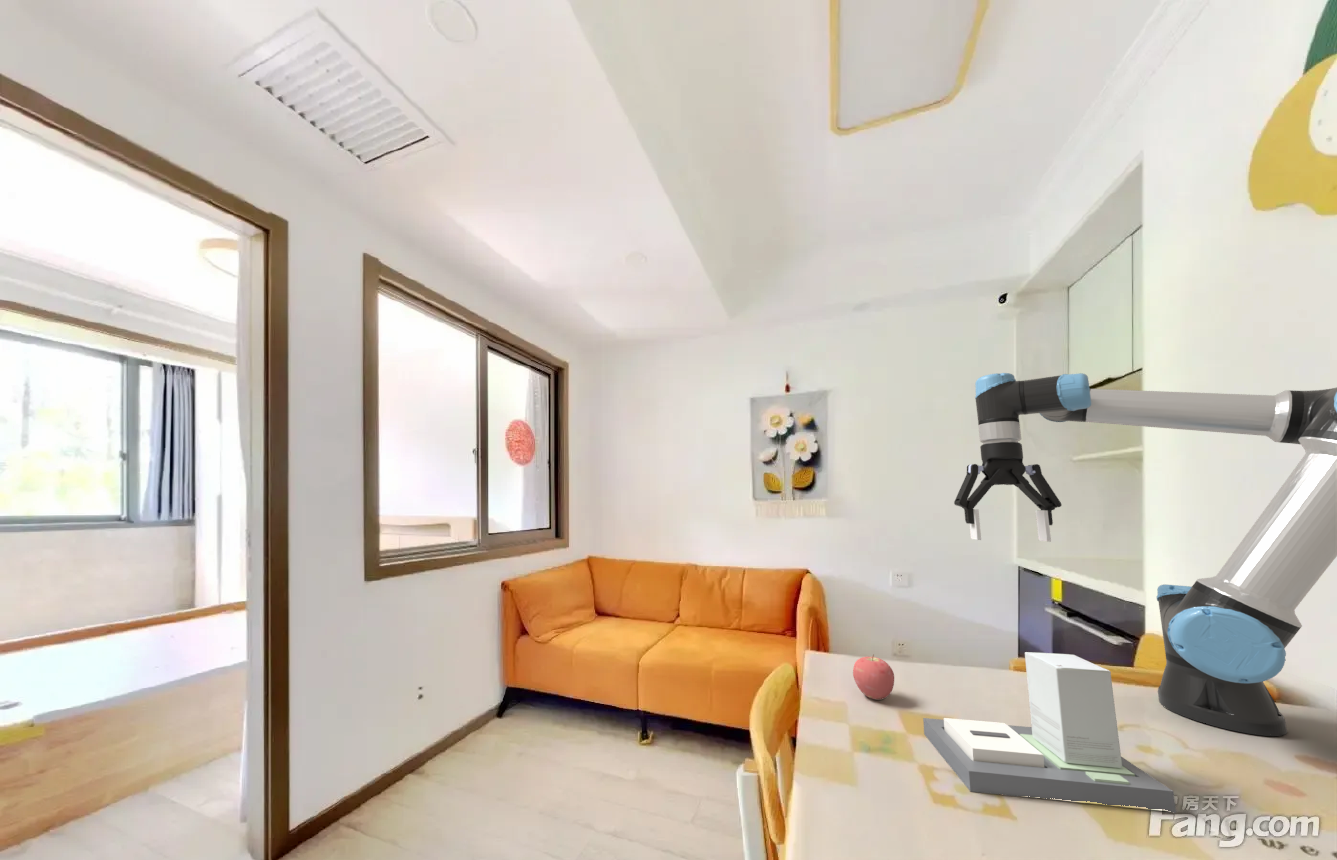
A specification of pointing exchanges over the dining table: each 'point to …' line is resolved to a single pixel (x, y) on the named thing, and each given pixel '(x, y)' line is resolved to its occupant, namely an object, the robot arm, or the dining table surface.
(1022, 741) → the grey flat rectangular block
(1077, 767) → the key
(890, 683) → the apple
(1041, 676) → the supplement box
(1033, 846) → the dining table surface
